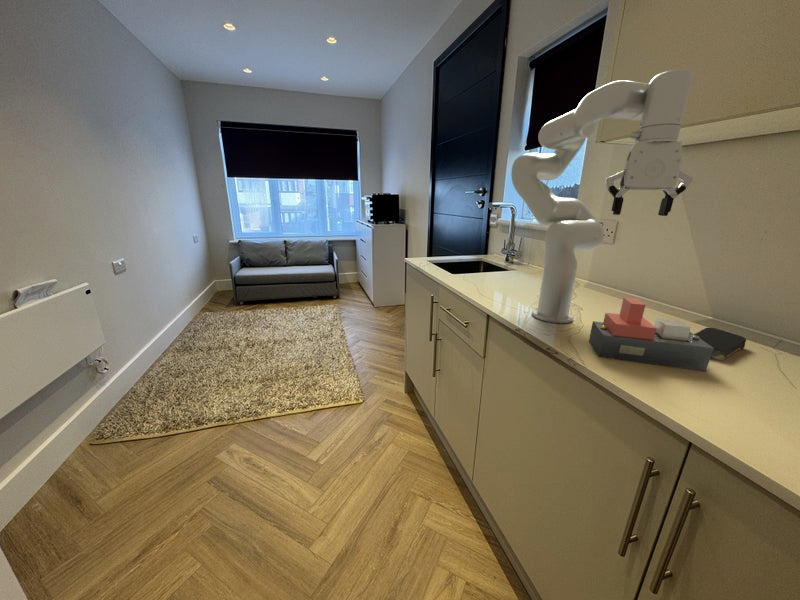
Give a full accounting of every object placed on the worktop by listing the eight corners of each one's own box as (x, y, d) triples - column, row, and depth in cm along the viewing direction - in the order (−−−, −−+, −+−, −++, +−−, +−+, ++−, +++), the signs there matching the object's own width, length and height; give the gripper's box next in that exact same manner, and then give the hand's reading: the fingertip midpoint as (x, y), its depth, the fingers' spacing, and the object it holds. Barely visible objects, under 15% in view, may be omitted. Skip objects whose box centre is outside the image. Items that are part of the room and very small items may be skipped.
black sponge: (704, 337, 93) (708, 326, 92) (745, 349, 86) (749, 336, 85) (679, 349, 85) (683, 337, 84) (721, 363, 78) (726, 350, 77)
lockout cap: (603, 323, 85) (609, 294, 83) (639, 327, 83) (646, 298, 81) (613, 335, 78) (620, 304, 75) (653, 339, 75) (662, 308, 73)
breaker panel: (588, 341, 89) (595, 309, 86) (682, 352, 83) (693, 318, 80) (599, 357, 79) (607, 322, 76) (706, 371, 73) (719, 334, 70)
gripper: (619, 135, 71) (603, 214, 76) (714, 131, 66) (690, 216, 71) (608, 141, 77) (594, 213, 83) (694, 138, 73) (673, 215, 78)
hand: (639, 215), depth 77 cm, fingers open, 9 cm apart
